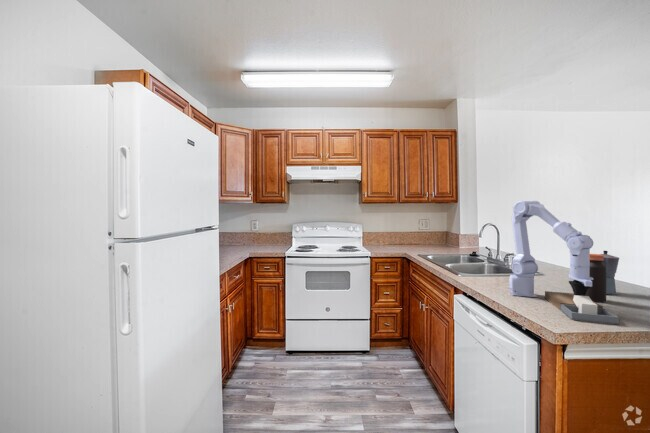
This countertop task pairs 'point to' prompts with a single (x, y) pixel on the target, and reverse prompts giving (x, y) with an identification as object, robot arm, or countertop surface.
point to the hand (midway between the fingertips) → (579, 300)
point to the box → (590, 315)
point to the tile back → (581, 299)
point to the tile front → (587, 308)
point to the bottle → (597, 278)
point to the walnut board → (562, 299)
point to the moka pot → (610, 272)
